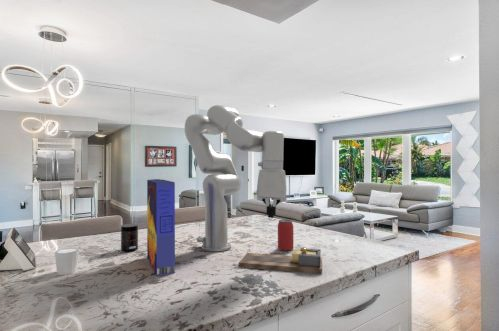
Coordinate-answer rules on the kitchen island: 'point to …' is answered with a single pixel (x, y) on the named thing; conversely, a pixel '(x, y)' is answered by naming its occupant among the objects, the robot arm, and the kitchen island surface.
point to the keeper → (310, 258)
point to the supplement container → (129, 237)
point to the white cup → (66, 261)
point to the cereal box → (161, 226)
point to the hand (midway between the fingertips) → (271, 217)
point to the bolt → (296, 253)
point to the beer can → (285, 235)
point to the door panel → (276, 263)
